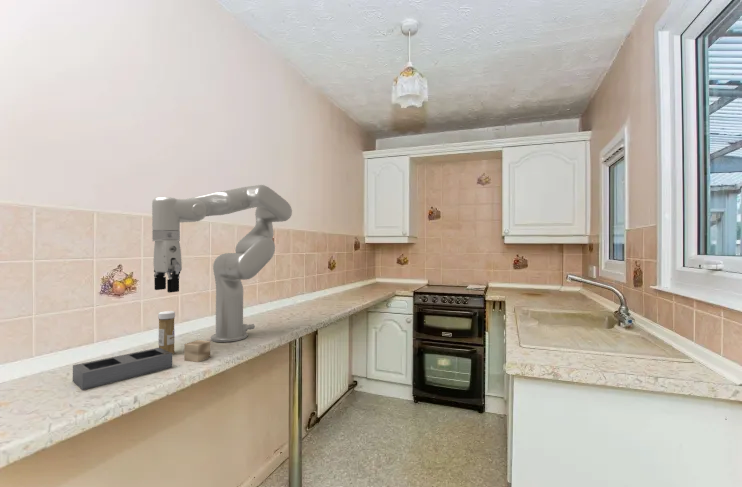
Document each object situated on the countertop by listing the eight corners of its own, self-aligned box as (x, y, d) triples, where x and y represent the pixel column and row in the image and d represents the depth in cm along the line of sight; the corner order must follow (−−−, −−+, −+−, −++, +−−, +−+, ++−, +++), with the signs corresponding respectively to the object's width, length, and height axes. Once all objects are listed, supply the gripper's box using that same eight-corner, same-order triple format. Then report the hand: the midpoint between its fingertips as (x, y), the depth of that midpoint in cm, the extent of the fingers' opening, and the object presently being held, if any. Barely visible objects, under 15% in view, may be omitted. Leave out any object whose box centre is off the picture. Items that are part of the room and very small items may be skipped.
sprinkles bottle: (175, 355, 110) (175, 312, 110) (158, 357, 107) (158, 313, 107) (174, 351, 113) (174, 310, 114) (157, 353, 111) (158, 311, 111)
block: (197, 356, 109) (197, 340, 109) (210, 357, 108) (210, 341, 108) (184, 360, 104) (184, 344, 104) (197, 362, 103) (197, 345, 103)
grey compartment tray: (159, 360, 104) (159, 347, 104) (172, 367, 98) (172, 353, 98) (72, 381, 88) (72, 365, 88) (82, 390, 83) (82, 373, 83)
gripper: (191, 236, 108) (191, 291, 108) (167, 237, 119) (167, 287, 119) (164, 236, 102) (165, 294, 102) (142, 237, 113) (142, 289, 113)
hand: (166, 290), depth 110 cm, fingers open, 9 cm apart
